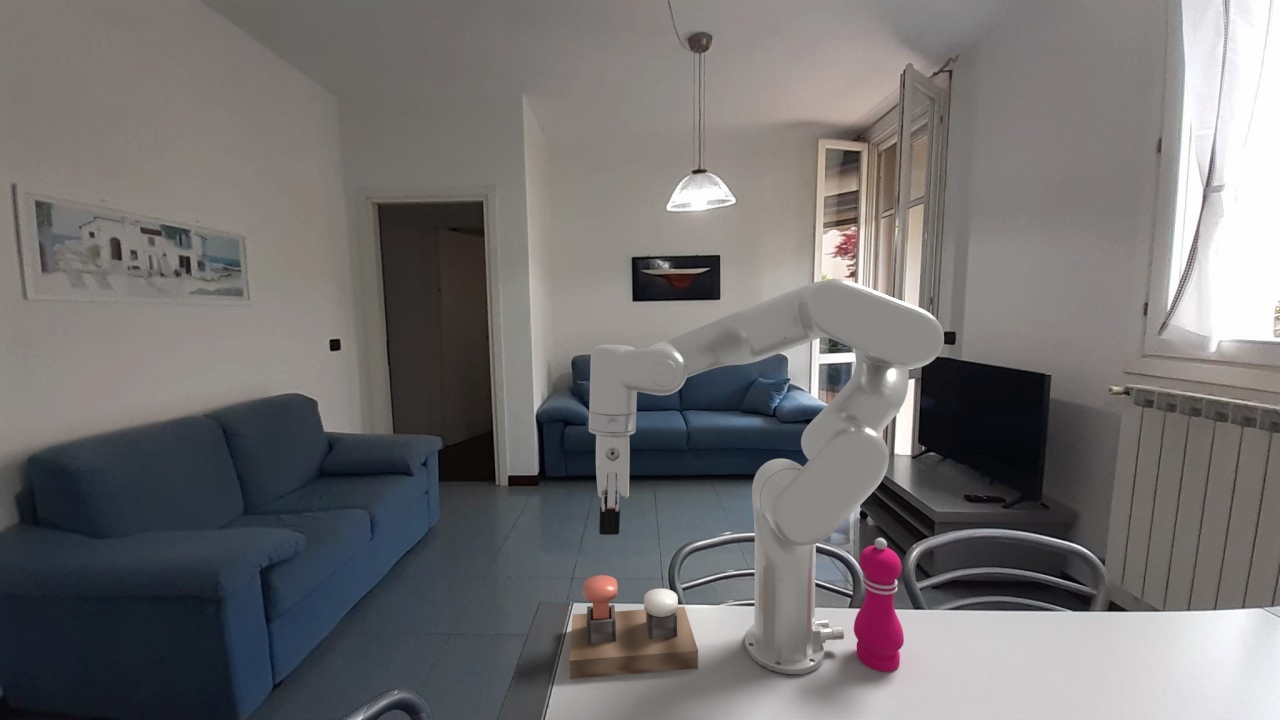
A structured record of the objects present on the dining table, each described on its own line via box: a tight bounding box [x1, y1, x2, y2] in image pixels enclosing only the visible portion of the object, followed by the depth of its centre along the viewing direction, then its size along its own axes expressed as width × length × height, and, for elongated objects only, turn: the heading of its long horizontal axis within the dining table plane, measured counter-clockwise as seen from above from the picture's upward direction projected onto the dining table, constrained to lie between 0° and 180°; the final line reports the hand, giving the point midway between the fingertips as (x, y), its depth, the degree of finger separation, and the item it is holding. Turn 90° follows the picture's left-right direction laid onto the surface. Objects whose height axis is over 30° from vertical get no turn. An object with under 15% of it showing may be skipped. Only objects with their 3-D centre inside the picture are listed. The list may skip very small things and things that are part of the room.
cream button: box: [643, 588, 679, 617], centre depth 84 cm, size 6×6×5 cm
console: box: [568, 604, 699, 680], centre depth 84 cm, size 20×12×6 cm, turn 95°
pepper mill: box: [853, 537, 905, 673], centre depth 80 cm, size 7×7×20 cm
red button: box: [582, 574, 619, 619], centre depth 83 cm, size 6×6×5 cm
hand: (609, 532), depth 82 cm, fingers closed
